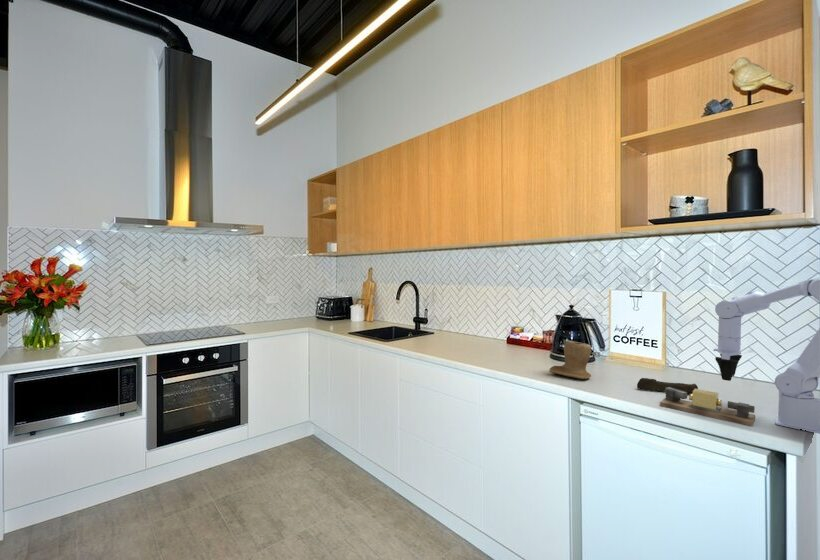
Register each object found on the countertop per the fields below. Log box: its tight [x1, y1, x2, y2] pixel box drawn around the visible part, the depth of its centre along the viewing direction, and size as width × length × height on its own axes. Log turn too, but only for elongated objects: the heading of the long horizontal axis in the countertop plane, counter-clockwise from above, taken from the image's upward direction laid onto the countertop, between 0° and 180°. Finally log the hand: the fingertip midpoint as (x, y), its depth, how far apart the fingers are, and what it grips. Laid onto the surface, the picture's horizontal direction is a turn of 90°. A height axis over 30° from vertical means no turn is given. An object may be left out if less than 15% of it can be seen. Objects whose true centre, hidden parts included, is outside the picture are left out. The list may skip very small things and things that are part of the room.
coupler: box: [688, 388, 723, 410], centre depth 123 cm, size 8×4×4 cm, turn 44°
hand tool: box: [636, 377, 699, 395], centre depth 143 cm, size 19×4×5 cm, turn 69°
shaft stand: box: [659, 387, 756, 427], centre depth 123 cm, size 23×8×5 cm, turn 44°
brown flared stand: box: [548, 340, 592, 380], centre depth 163 cm, size 15×12×15 cm
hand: (728, 377), depth 128 cm, fingers open, 7 cm apart
